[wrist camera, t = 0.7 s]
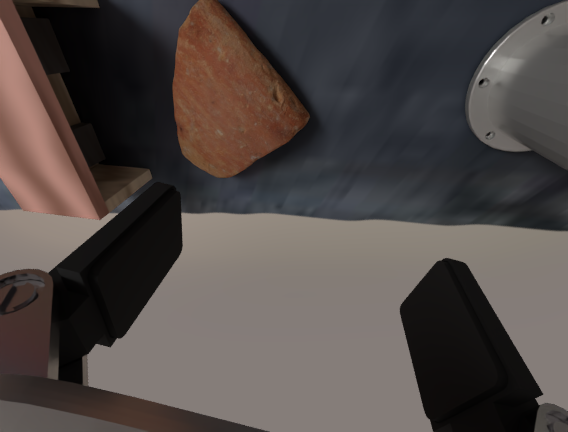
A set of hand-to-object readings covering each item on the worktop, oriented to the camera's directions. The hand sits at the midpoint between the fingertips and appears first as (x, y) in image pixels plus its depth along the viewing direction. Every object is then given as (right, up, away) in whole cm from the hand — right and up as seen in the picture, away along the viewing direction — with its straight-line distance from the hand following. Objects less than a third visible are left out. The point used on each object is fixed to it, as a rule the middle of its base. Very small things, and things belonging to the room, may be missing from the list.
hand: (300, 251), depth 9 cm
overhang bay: (-25, +16, +23) cm, 37 cm away
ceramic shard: (-7, +14, +21) cm, 27 cm away
